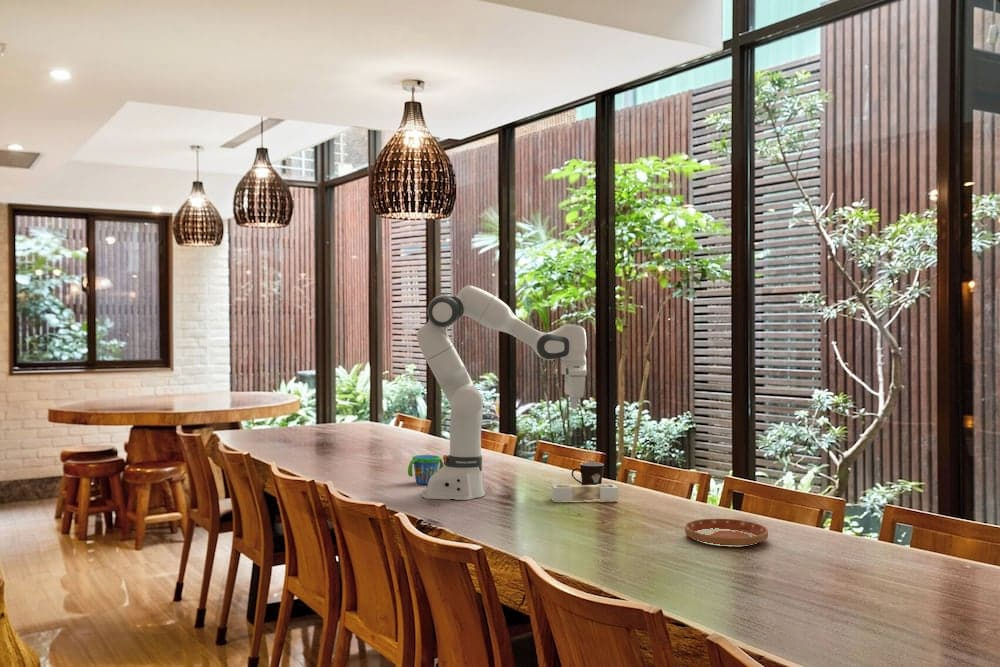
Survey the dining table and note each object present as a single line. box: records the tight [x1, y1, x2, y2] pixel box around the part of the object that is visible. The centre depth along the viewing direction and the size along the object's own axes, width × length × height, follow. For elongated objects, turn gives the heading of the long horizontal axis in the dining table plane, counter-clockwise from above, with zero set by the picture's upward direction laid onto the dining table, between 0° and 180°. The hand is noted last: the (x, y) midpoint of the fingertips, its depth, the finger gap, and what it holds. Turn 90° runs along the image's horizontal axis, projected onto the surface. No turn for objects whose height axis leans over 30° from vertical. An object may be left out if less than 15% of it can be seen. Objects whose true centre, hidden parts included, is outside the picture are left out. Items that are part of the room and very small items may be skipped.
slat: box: [561, 484, 608, 500], centre depth 294 cm, size 16×3×4 cm, turn 94°
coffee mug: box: [571, 461, 605, 485], centre depth 311 cm, size 12×9×10 cm
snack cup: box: [407, 454, 444, 486], centre depth 323 cm, size 16×10×10 cm
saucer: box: [684, 518, 769, 545], centre depth 242 cm, size 23×23×4 cm
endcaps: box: [551, 483, 619, 503], centre depth 294 cm, size 22×7×5 cm, turn 94°
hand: (573, 408), depth 301 cm, fingers closed
